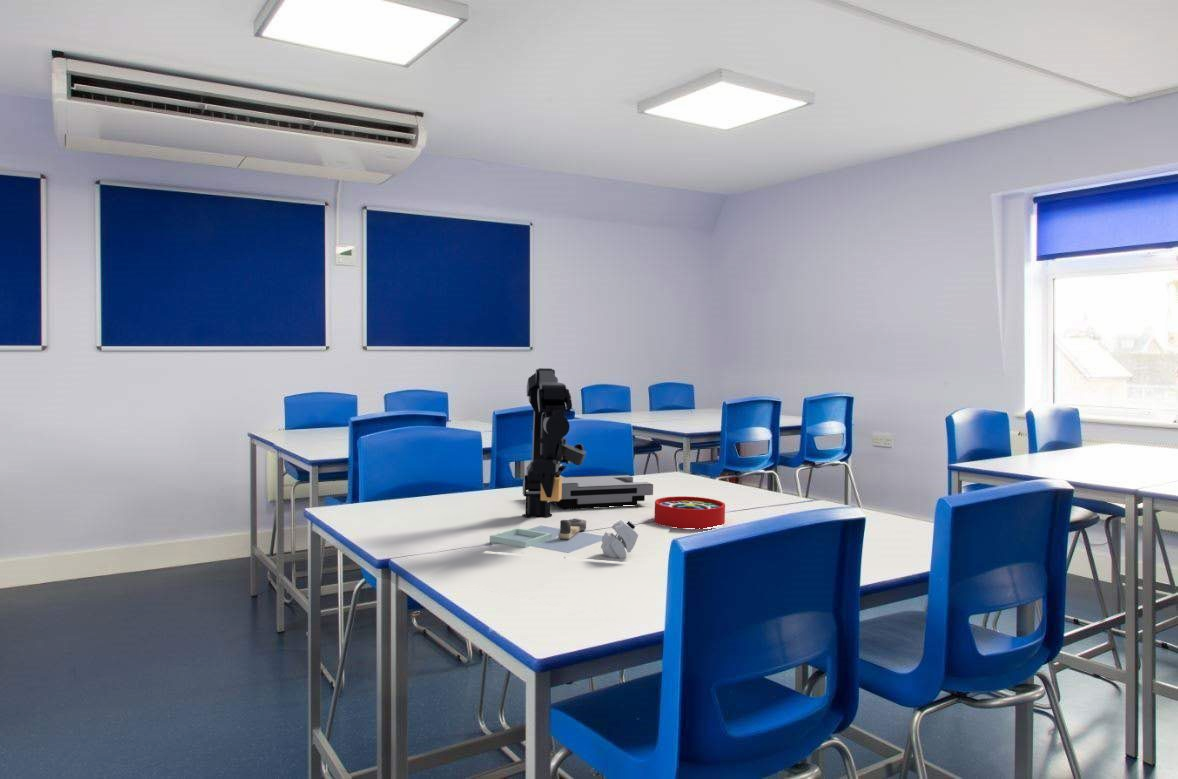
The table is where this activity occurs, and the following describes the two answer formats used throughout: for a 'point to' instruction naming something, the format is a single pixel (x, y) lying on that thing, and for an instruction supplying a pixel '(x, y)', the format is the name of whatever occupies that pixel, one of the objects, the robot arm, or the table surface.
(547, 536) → the tray
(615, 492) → the office tray
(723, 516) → the toy clock
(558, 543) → the crank base
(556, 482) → the block
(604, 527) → the table surface
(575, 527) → the crank
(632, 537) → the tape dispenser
